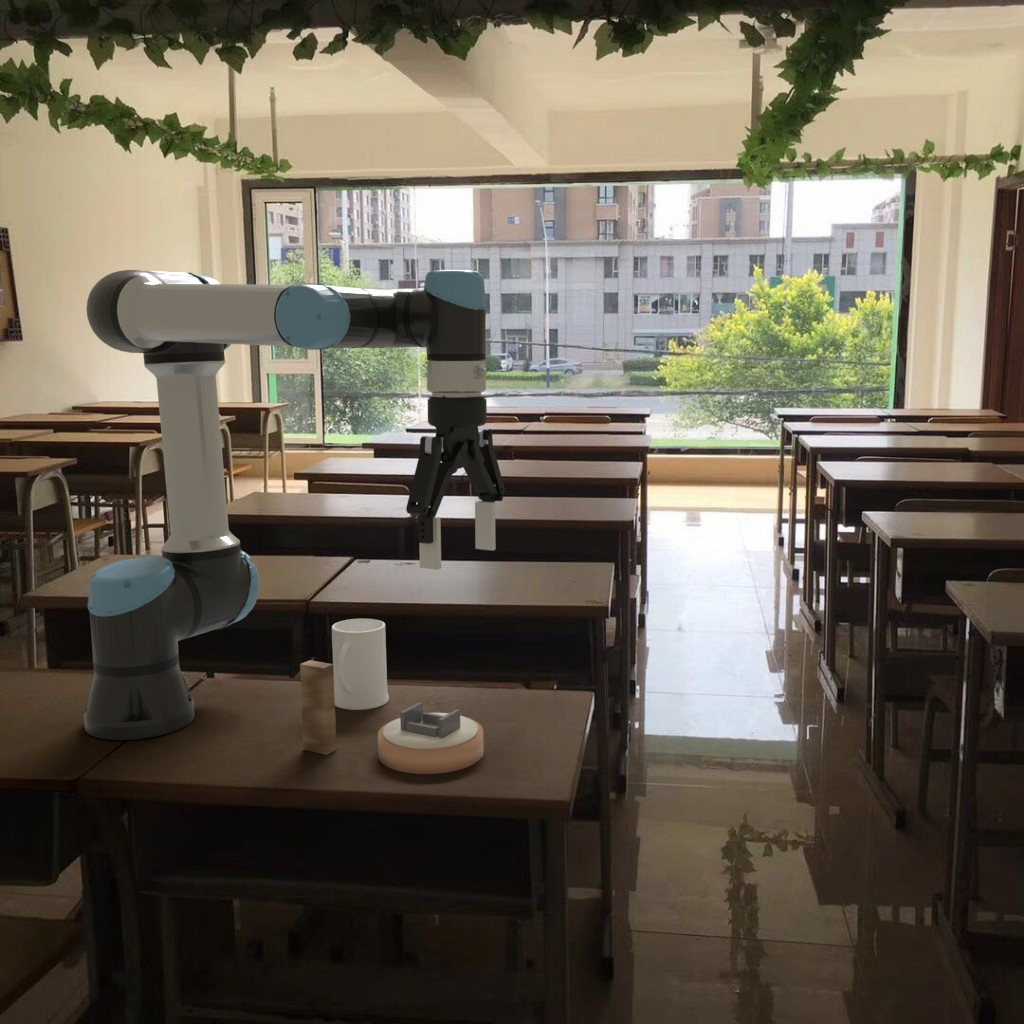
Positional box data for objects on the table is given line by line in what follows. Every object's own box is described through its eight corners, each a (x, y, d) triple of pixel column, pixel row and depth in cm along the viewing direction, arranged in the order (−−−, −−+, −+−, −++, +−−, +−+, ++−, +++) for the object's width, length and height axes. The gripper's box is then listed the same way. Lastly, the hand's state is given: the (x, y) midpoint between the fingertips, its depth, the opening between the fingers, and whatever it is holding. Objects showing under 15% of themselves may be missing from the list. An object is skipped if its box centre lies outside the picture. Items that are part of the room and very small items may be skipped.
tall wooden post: (303, 749, 146) (300, 664, 144) (313, 744, 147) (309, 660, 145) (327, 754, 144) (323, 668, 142) (336, 749, 145) (333, 664, 143)
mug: (362, 720, 156) (360, 640, 155) (311, 714, 159) (308, 635, 157) (398, 695, 167) (396, 620, 166) (349, 689, 170) (347, 616, 168)
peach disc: (357, 761, 141) (355, 718, 140) (417, 727, 153) (416, 688, 152) (446, 782, 134) (446, 737, 133) (502, 745, 146) (502, 703, 145)
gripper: (427, 400, 124) (430, 580, 128) (529, 390, 146) (529, 544, 149) (374, 399, 128) (379, 573, 131) (481, 389, 149) (482, 539, 153)
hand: (459, 558), depth 140 cm, fingers open, 13 cm apart
